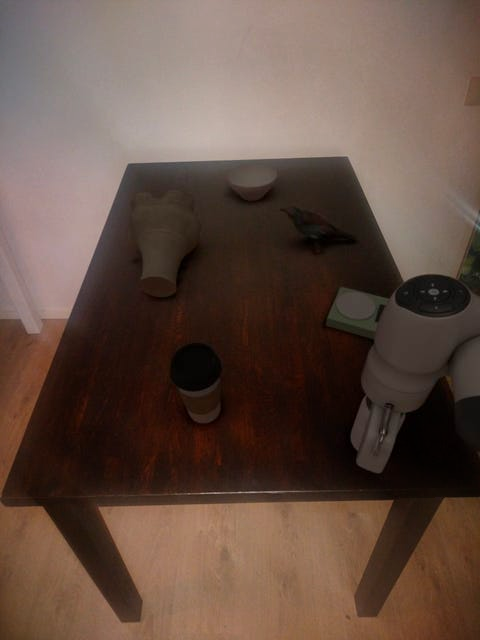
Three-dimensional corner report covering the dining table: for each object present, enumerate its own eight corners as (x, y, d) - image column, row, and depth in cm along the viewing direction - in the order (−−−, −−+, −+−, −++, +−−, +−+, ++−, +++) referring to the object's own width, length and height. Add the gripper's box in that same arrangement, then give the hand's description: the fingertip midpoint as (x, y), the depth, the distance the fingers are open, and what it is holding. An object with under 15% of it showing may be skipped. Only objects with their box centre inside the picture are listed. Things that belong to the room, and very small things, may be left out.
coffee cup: (179, 430, 68) (163, 382, 57) (184, 390, 74) (170, 339, 63) (226, 429, 68) (219, 381, 57) (227, 389, 74) (221, 338, 63)
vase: (197, 276, 77) (207, 180, 91) (88, 266, 76) (114, 170, 89) (196, 326, 96) (204, 241, 110) (108, 319, 94) (127, 233, 108)
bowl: (222, 188, 129) (221, 167, 124) (267, 180, 132) (268, 160, 127) (235, 211, 119) (233, 190, 114) (283, 202, 121) (284, 181, 116)
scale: (386, 306, 87) (389, 296, 85) (376, 340, 80) (379, 330, 78) (339, 294, 91) (340, 284, 89) (325, 325, 84) (327, 315, 82)
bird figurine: (351, 227, 108) (322, 172, 95) (362, 248, 102) (332, 192, 89) (309, 250, 113) (276, 202, 100) (317, 272, 106) (282, 223, 93)
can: (343, 429, 67) (354, 392, 58) (376, 419, 68) (392, 380, 59) (362, 464, 63) (377, 429, 54) (396, 452, 64) (417, 415, 55)
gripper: (408, 454, 45) (382, 496, 55) (430, 333, 57) (405, 385, 67) (354, 434, 47) (338, 478, 57) (386, 321, 59) (368, 374, 69)
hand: (374, 427), depth 62 cm, fingers closed on can, 6 cm apart
